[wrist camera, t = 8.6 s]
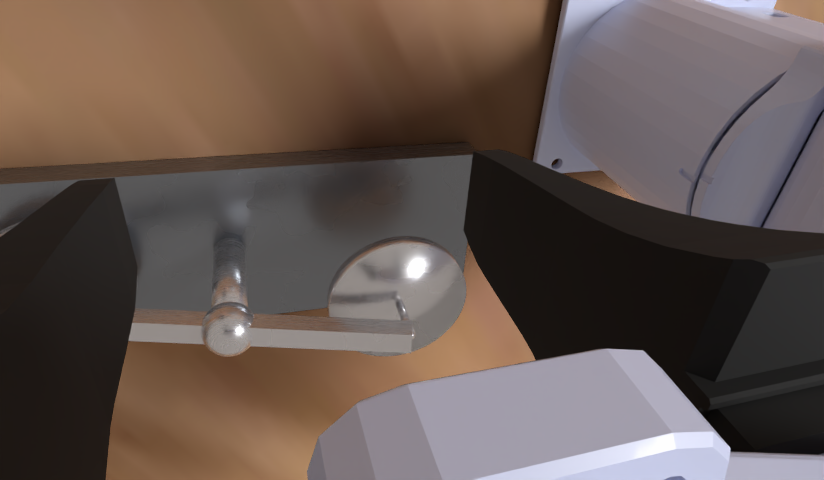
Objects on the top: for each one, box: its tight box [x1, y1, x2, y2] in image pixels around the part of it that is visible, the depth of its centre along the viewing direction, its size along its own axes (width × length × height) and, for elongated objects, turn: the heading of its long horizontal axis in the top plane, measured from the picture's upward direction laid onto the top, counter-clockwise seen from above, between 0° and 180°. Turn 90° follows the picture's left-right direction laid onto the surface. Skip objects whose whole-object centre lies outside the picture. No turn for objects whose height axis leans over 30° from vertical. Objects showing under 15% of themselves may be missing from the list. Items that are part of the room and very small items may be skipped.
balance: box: [0, 142, 476, 357], centre depth 20 cm, size 20×7×8 cm, turn 87°
